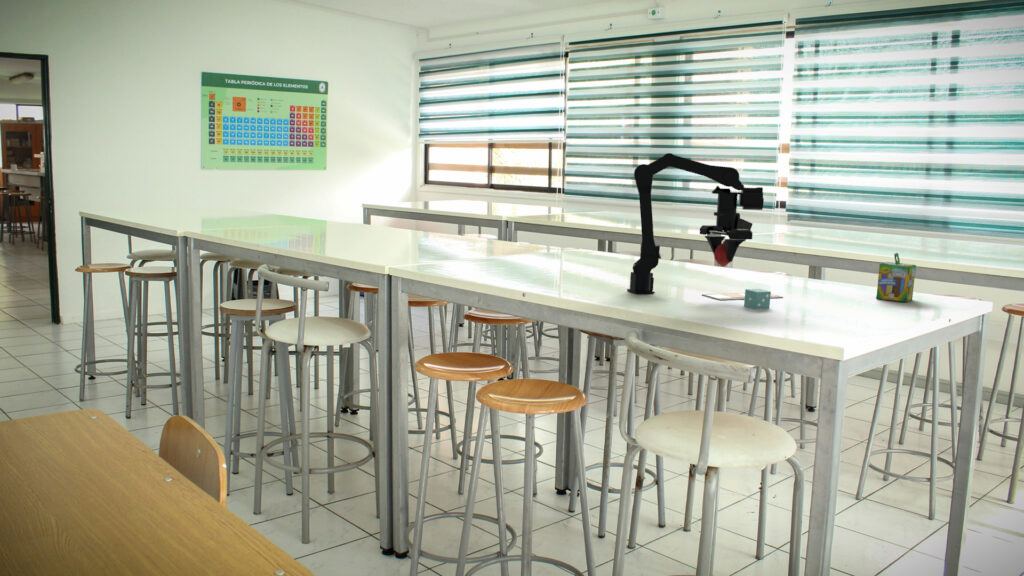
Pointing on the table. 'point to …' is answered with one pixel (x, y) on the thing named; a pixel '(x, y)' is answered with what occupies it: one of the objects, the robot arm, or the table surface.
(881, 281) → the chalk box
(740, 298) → the board
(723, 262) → the onion
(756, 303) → the die
